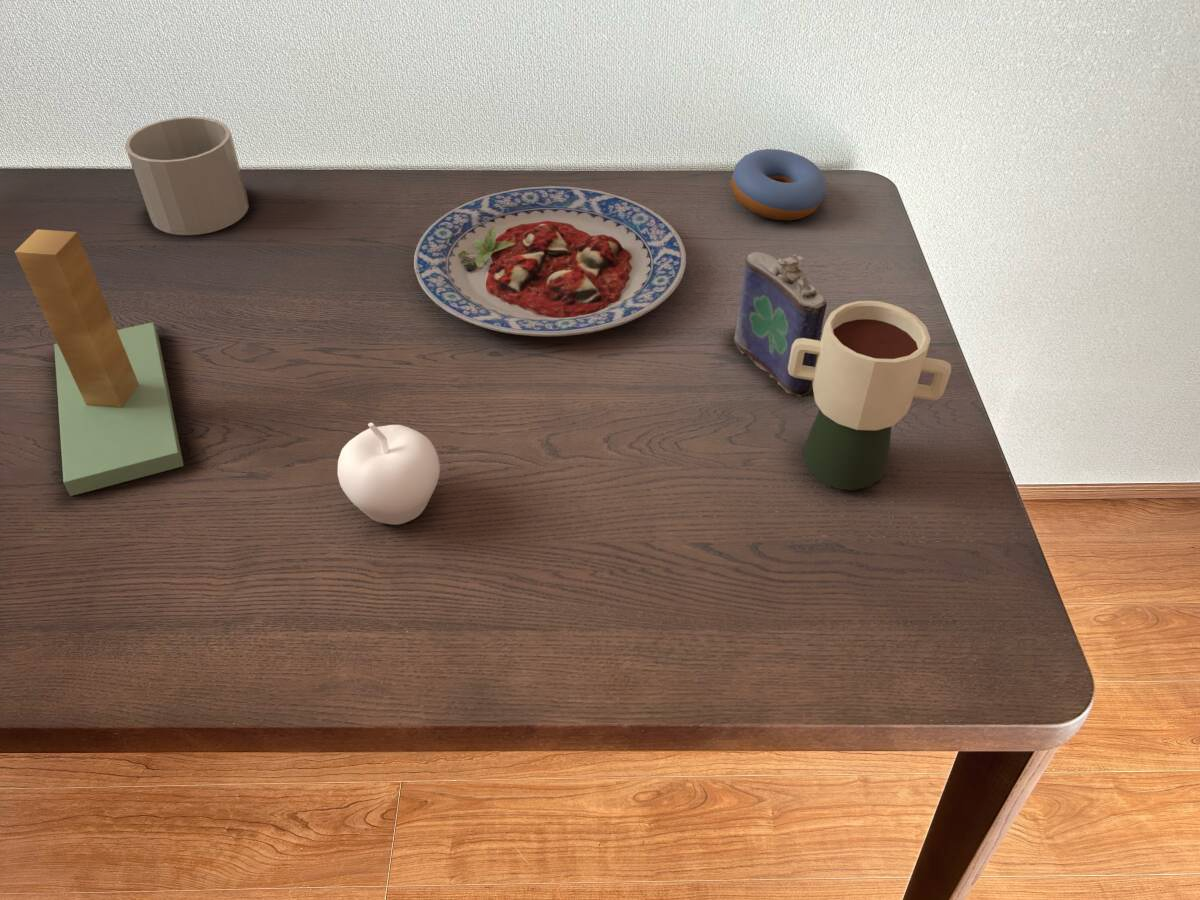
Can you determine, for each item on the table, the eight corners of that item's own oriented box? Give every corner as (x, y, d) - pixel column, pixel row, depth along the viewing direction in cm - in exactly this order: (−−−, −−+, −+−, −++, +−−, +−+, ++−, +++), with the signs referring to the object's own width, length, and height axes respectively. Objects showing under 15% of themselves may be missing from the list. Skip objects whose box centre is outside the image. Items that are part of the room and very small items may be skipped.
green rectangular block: (60, 357, 83) (53, 343, 82) (158, 335, 86) (153, 321, 85) (70, 496, 71) (63, 482, 70) (184, 466, 74) (178, 452, 73)
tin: (134, 232, 98) (107, 158, 92) (174, 185, 105) (152, 114, 100) (227, 238, 97) (206, 164, 92) (262, 190, 104) (244, 119, 99)
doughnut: (841, 213, 102) (849, 173, 99) (765, 236, 99) (771, 196, 96) (784, 173, 109) (790, 134, 106) (710, 194, 105) (714, 154, 102)
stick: (85, 405, 76) (14, 251, 67) (103, 381, 79) (36, 229, 69) (122, 408, 76) (55, 254, 67) (139, 383, 78) (77, 231, 69)
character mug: (915, 448, 76) (959, 312, 67) (913, 512, 71) (961, 374, 62) (776, 424, 78) (802, 288, 69) (765, 485, 73) (791, 347, 64)
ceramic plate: (725, 244, 98) (728, 217, 96) (608, 388, 81) (608, 360, 79) (507, 183, 106) (506, 158, 104) (360, 302, 90) (355, 275, 88)
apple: (365, 467, 74) (348, 386, 68) (456, 479, 73) (445, 398, 68) (332, 534, 69) (310, 453, 63) (428, 548, 68) (415, 467, 63)
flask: (727, 341, 86) (742, 235, 79) (754, 332, 87) (770, 226, 80) (793, 400, 80) (815, 292, 73) (821, 389, 81) (845, 282, 74)
